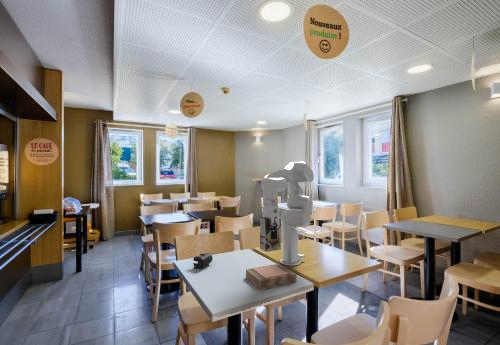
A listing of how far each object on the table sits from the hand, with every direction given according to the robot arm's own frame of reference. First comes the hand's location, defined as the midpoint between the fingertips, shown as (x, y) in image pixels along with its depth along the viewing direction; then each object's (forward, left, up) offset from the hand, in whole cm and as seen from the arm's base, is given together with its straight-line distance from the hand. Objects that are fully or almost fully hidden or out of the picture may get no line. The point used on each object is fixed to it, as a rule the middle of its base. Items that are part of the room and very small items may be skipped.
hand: (270, 237), depth 128 cm
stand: (0, 0, -21) cm, 21 cm away
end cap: (+26, -33, -22) cm, 47 cm away
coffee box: (0, 0, -6) cm, 6 cm away
